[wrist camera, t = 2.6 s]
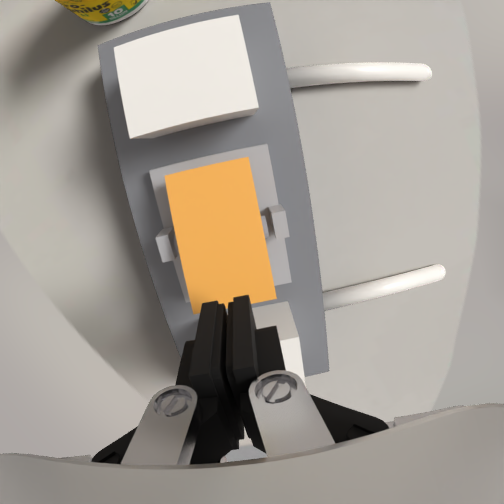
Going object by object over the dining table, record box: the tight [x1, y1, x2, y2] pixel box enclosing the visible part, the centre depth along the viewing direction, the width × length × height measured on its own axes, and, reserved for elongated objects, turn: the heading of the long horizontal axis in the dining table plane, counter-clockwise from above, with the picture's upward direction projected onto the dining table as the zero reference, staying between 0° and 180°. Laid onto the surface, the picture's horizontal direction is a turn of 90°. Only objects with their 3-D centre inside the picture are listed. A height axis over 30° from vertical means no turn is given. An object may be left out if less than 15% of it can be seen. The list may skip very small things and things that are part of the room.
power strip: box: [98, 2, 445, 386], centre depth 16 cm, size 22×19×6 cm
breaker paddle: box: [164, 157, 277, 314], centre depth 14 cm, size 6×4×1 cm, turn 11°
